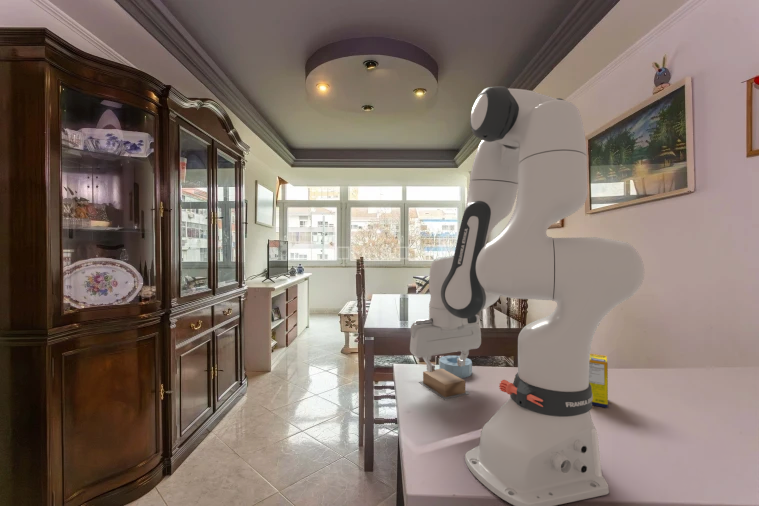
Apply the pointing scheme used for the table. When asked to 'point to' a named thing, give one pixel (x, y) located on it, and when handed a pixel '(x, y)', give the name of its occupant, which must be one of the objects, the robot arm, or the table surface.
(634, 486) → the table surface
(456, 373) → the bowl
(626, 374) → the table surface
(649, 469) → the table surface
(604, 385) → the supplement box
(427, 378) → the tan rectangular sponge
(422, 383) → the mat
